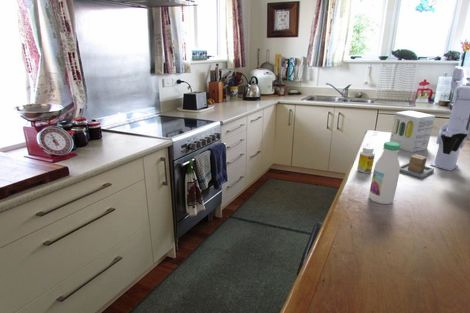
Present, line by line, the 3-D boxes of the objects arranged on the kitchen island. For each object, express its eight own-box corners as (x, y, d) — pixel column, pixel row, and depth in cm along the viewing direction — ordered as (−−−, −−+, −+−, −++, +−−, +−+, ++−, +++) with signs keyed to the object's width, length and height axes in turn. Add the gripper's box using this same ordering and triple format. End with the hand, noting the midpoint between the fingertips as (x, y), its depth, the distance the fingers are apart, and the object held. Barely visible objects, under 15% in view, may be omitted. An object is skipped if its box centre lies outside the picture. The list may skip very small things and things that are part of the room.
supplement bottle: (365, 174, 128) (370, 150, 124) (354, 170, 132) (358, 146, 129) (374, 171, 131) (378, 148, 127) (362, 167, 135) (366, 144, 131)
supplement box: (387, 144, 166) (394, 112, 160) (404, 141, 172) (411, 110, 166) (411, 152, 155) (419, 117, 149) (427, 149, 161) (436, 115, 155)
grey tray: (408, 164, 139) (409, 161, 139) (433, 172, 132) (434, 168, 132) (396, 170, 132) (396, 167, 132) (421, 179, 125) (422, 175, 124)
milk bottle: (391, 196, 110) (403, 141, 103) (394, 206, 103) (407, 148, 96) (368, 192, 112) (378, 138, 105) (369, 202, 105) (380, 145, 99)
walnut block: (412, 167, 135) (415, 154, 133) (423, 170, 131) (427, 157, 129) (407, 169, 132) (410, 156, 130) (418, 173, 129) (422, 159, 127)
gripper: (465, 121, 113) (454, 157, 117) (477, 118, 121) (467, 152, 126) (443, 118, 118) (434, 152, 122) (456, 115, 127) (447, 147, 131)
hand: (449, 152), depth 124 cm, fingers open, 7 cm apart
